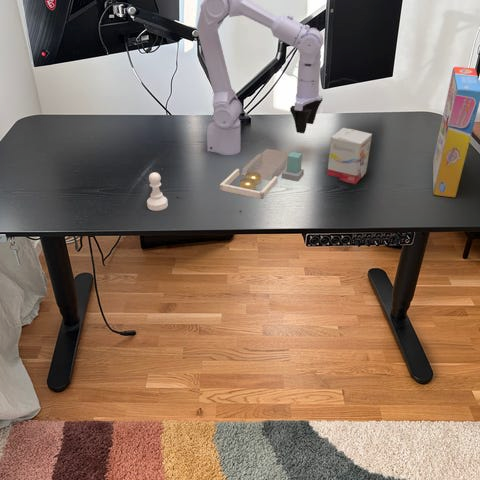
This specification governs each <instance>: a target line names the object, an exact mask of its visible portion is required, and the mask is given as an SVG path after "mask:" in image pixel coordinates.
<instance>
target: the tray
mask: <svg viewBox="0 0 480 480" xmlns="http://www.w3.org/2000/svg"><path fill="white" fill-rule="evenodd" d="M240 171H241V170H240V169H239V168H236V169H234V171H233V172H231V174H230V175H229V176H227V177H226V179H224V180H223V181H222V182H221V183H220V184H219V190H220V191H223V192H227V193H232V194H237V195H242V196H247V197H250V198H255V199H259V200H264V198H265V197H266V196H267V195H268V194H269V192H270V191H271V190H272V189H273V188H274V187H275V185H277V183H278V178H279V177H277V176H275V177H274V178H273V179H272V180H271V181H270V180H269V182H268V183H267V185H265V187H263V189H262V190H260V191H259V190H256V189H255V190H250V189H245V188H241V187H240V186H235V185H231V183H233V181H235V180H236V179H237V178H238V177H239V176H240V174H241V172H240Z"/></svg>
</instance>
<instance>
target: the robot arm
mask: <svg viewBox="0 0 480 480" xmlns="http://www.w3.org/2000/svg"><path fill="white" fill-rule="evenodd" d="M228 16H229V18H232V17H240V16H244V17H246V18H248V19H250V20H251V21H254V22H256V23H258V24H259V25H262V26H264V27H267V28H268V29H270V30H271V33H272V36H273V37H274V38H276V39H278V40H280V41H282V42H283V43H285V44H286V45H288V46H289V45H290V46H291V47H293V48H296V49H297V51H298V53H299V57H298V59H299V60H298V65H297V68H298V69H297V81H296V82H297V83H296V84H297V85H296V94H295V102H294V105H291V107H289V110H290V113H291V114H292V118H293V120H294V125H295V130H296V133H297V134H305V132H306V129H307V125H313V124H314V122H315V120H316V116H317V112H318V110H319V107H320V105H321V103H322V102H323V95H320V94H319V92H320V88H319V86H320V73H321V64H322V63H321V57H322V55H321V54H322V51H321V49H322V46H323V44H324V36H323V34H322V33H321V31H320V30H318V29H317V27H310V25H308V24H305V25H304V24H302V22H299V21H297V20H295V19H293V18H294V16H293V15H292V14H288V15H286V14H281V15H276V14H273V13H272V12H270V11H269V10H267V9H265V8H264V7H262V6H260V5H259V4H258V3H256V2H254V1H253V0H203V1H202V3H201V4H200V12H199V17H198V20H197V24H196V31H197V35H198V40H199V43H200V46H201V50H202V54H203V58H204V62H205V66H206V69H207V73H208V77H209V81H210V84H211V88H212V91H213V92H212V93H213V100H212V107H213V114H212V119H213V121H210V123H209V124H208V126H207V130H206V144H207V145H206V146H207V148H206V149H207V152H213V153H216V154H220V155H223V156H232V155H237V154H239V153H240V152H241V121H240V118H239V116H241V114H242V112H243V105H242V102H241V101H240V100H239V99H238V97H237V93H236V91H235V90H234V89H233V88H232V85H231V80H230V76H229V72H228V67H227V64H226V60H225V55H224V51H223V48H222V43H221V39H220V35H219V29H220V27H221V25H222V24H223V22H224V21H225V19H226V18H227V17H228Z"/></svg>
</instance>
